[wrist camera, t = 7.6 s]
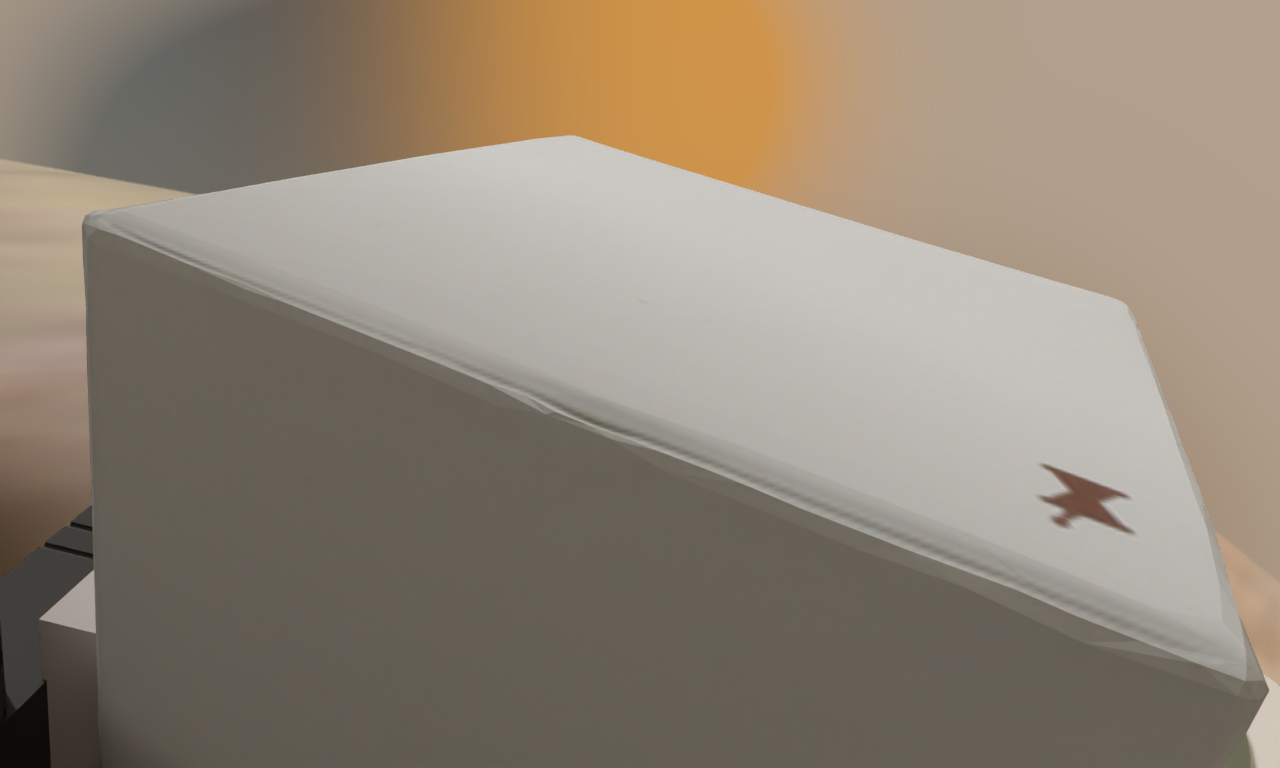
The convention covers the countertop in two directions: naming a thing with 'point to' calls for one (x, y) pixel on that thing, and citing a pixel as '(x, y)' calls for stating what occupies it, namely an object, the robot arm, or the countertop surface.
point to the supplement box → (628, 487)
